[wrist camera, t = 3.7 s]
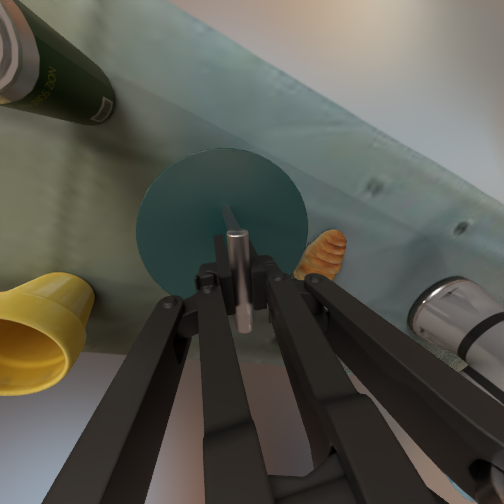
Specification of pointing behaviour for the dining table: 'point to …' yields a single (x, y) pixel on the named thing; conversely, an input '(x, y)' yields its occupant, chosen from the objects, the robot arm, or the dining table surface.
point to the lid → (220, 221)
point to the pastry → (322, 256)
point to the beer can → (48, 71)
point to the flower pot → (42, 331)
